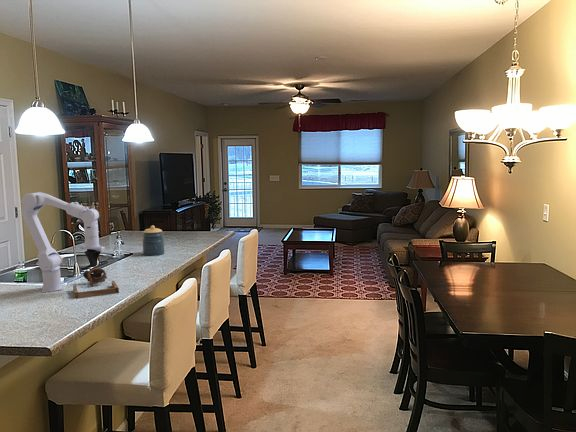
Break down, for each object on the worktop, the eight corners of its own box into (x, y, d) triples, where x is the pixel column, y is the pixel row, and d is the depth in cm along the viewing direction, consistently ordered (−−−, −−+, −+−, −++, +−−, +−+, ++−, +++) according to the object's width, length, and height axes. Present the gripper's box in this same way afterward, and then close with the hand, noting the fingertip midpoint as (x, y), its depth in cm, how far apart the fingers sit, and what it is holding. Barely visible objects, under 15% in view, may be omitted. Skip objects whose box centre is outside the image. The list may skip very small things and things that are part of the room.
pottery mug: (111, 281, 233) (110, 269, 229) (101, 295, 226) (100, 282, 221) (88, 275, 235) (87, 262, 230) (77, 288, 227) (75, 275, 222)
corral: (73, 290, 217) (73, 285, 216) (114, 285, 224) (114, 280, 224) (75, 298, 204) (75, 293, 204) (118, 292, 212) (118, 287, 212)
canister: (159, 256, 290) (158, 227, 288) (139, 255, 292) (137, 226, 290) (168, 252, 303) (167, 224, 301) (148, 251, 305) (147, 223, 303)
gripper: (73, 236, 216) (75, 266, 218) (94, 238, 209) (96, 269, 210) (87, 234, 222) (88, 263, 224) (108, 236, 215) (110, 266, 216)
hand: (93, 266), depth 217 cm, fingers closed
